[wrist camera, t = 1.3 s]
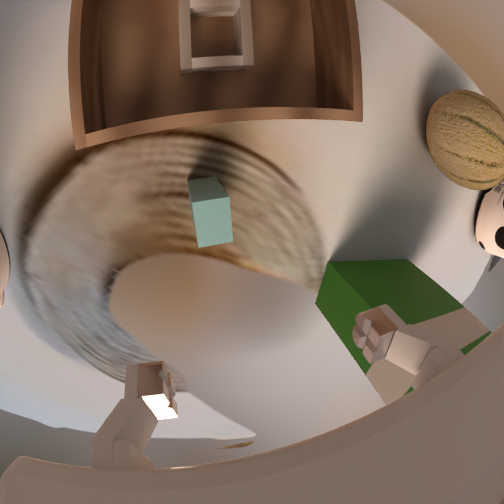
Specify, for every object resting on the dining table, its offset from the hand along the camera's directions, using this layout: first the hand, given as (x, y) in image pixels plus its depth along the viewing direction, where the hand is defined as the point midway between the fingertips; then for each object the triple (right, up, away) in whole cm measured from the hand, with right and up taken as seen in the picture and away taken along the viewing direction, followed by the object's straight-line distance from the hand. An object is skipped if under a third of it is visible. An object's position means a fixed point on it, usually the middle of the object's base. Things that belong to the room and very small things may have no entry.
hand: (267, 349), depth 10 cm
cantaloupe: (+28, +23, +22) cm, 43 cm away
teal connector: (-6, +10, +19) cm, 22 cm away
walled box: (-5, +25, +11) cm, 28 cm away
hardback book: (+18, -1, +32) cm, 37 cm away
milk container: (+55, +14, +36) cm, 67 cm away
